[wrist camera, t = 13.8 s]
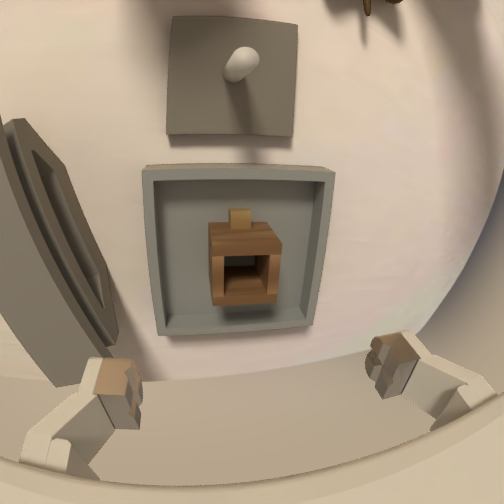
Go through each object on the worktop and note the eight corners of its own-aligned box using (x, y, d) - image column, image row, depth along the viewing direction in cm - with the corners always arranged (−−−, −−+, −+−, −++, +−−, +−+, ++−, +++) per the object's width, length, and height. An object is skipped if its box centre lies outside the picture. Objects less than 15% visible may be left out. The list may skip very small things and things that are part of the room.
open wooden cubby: (208, 208, 30) (212, 228, 25) (267, 207, 31) (283, 227, 26) (208, 275, 33) (212, 306, 28) (262, 273, 34) (276, 302, 29)
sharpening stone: (130, 309, 34) (116, 375, 24) (79, 325, 34) (56, 387, 24) (46, 107, 23) (-13, 108, 13) (-5, 141, 23) (-67, 157, 13)
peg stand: (294, 27, 25) (325, 3, 17) (288, 136, 29) (319, 142, 22) (173, 20, 22) (168, -11, 15) (167, 134, 27) (157, 138, 20)
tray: (322, 166, 31) (335, 172, 28) (303, 309, 39) (312, 325, 36) (147, 165, 28) (141, 170, 25) (159, 318, 35) (157, 335, 32)
